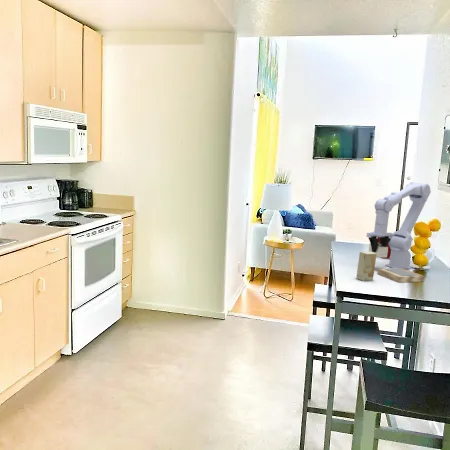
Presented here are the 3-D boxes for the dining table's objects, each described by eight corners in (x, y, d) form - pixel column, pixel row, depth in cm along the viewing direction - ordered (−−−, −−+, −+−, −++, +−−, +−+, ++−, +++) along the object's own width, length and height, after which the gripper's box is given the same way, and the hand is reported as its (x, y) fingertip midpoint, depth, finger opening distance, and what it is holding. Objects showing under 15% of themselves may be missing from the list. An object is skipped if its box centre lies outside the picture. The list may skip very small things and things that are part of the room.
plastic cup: (398, 259, 246) (401, 238, 244) (382, 260, 242) (385, 238, 240) (385, 255, 256) (388, 234, 254) (369, 255, 252) (372, 234, 250)
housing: (375, 253, 223) (377, 241, 222) (386, 257, 216) (388, 245, 215) (368, 253, 221) (369, 241, 220) (379, 257, 214) (381, 245, 213)
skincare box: (362, 281, 195) (366, 253, 193) (355, 278, 199) (359, 251, 197) (373, 280, 198) (377, 253, 196) (366, 277, 202) (369, 251, 200)
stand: (400, 273, 215) (401, 267, 215) (423, 281, 202) (424, 275, 202) (377, 274, 210) (377, 268, 209) (399, 282, 197) (399, 276, 197)
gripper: (387, 222, 222) (383, 249, 224) (363, 222, 217) (360, 250, 219) (397, 225, 216) (394, 252, 218) (373, 225, 210) (370, 253, 212)
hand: (377, 251), depth 218 cm, fingers closed on housing, 4 cm apart
